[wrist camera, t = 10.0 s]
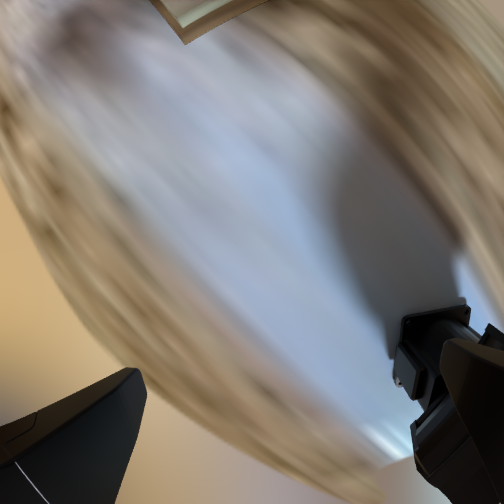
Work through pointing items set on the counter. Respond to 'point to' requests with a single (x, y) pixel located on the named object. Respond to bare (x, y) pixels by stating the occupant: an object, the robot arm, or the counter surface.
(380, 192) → the counter surface
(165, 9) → the pedestal
